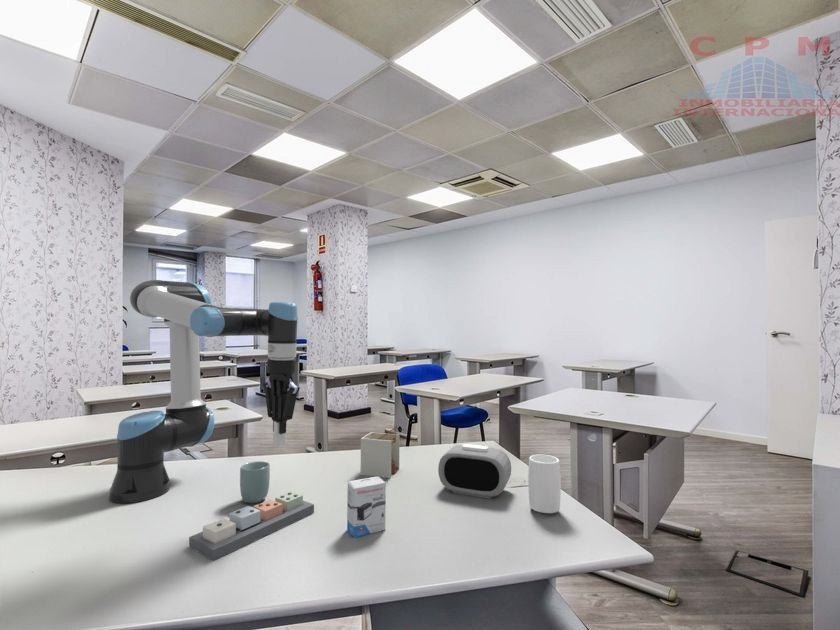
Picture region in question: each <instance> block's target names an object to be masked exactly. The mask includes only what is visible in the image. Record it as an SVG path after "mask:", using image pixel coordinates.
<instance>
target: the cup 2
mask: <svg viewBox="0 0 840 630" xmlns="http://www.w3.org/2000/svg"><path fill="white" fill-rule="evenodd" d="M560 465H561V464H560V459H559V458H557V457H556V456H554V455H549V454H542V453H541V454H539V453H538V454H532V455H530V456H529V459H528V476H527V478H528V480H527V481H528V501H529V508H531V509H532V510H533V511H535V512H537V513H544V514H553V513H554V514H555V513H558V512H559V511H560V508H561V494H562V493H561V491H562V489H561V488H562V487H561V485H562V484H561V482H562V481H561V480H562V478H561V467H560Z"/></svg>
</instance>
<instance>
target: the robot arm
mask: <svg viewBox="0 0 840 630" xmlns="http://www.w3.org/2000/svg"><path fill="white" fill-rule="evenodd" d="M129 296H130V297H129V301H130V302H129V303H130V305H131V307H132V309H133V310H134V311H135V312H137V313H138V314H140V315H142V316H145V317H147V318H161V319H163V323H164V325H166V326H167V327H168V328H169V359H170V360H169V365H170V372H169V373H170V402H169V403H168V404H167V405H166V406H165V412H164V411H162V410H150V411H143V412H139V413H135V414H131V415H129V416H126V417H124V418H123V419H122V420H121V421H120V422H119V424H118V430H117V434H116V438H117V453H116V454H117V455H116V456H117V462H116V463H117V464H116V465H117V466H116V468H117V469H116V473H115V476H114V479H113V480H112V484H111V487H110V489H109V492H108V493H109V495H108V498H109V501H110V502H113V503H116V504H129V503H130V504H131V503H137V502H138V503H139V502H143V501H148V500H151V499H155V498H157V497H160V496H162V495H164V494H166V493H167V492H168V491H170V489H171V480H170V477H169V474H168V472H167V469H166V467H165V463H164V461H165V459H164V458H165V453H168V452H171V451H175V450H180V449H182V448H187V447H188V448H189V447H194V446H196V445H198V444H202V443H205V442H206V441H207V440H208V439H210V437H211V436H212V434H213V431H214V428H215V416H214V414H213V411H212V409H210V407H207V403H206V401H204V400H203V399H202V398H201V395H202V393H201V355H200V349H201V348H200V337H207V338H213V337H230V336H231V337H232V336H233V337H236V336H237V337H238V336H242V337H243V336H246V337H247V336H265V337H267V358H268V359H267V361H266V372H267V373H268V374H269V377H268V380H266V381H264V382H263V383H262V386H263V390H264V394H265V404H266V411H267V417H268V418H271V420H272V432H273V435H272V436H273V440H272V446H274V447H280V446H283V445H285V444H286V433H287V421H290V420H292V419H293V417H294V411H295V405H296V401H297V396H298V393H299V391H300V389H301V388H300V385H296V384H295V383H294V376H293V375H294V374H295V373H296V370H297V368H296V365H297V361H296V359H295V358H296V357H297V347H298V346H297V335H298V334H297V333H298V319H299V317H298V306H297V304H296V303H294V302H283V301H281V302H280V301H279V302H278V301H272V302H270V303H269V304H268V308H267V309H264V308H242V307H241V308H240V307H239V308H238V307H237V308H236V307H232V308H231V307H221V306H217V305H213V304H212V299H211V296H210V293H209V291H208V289H206V287H205V286H203V285H202V284H199V283H194V282H189V281H188V282H186V281H184V282H183V281H173V280H162V279H151V280H146V281H143V282H141V283H139V284H137V285H136V286H135V287H133V289H132V291H131V292H130V295H129Z"/></svg>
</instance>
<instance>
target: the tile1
mask: <svg viewBox="0 0 840 630" xmlns="http://www.w3.org/2000/svg"><path fill="white" fill-rule="evenodd" d="M229 520H230V519H226V518H224V517H223V518H221V519H218V520H215V521H213V522H210V523H208V524H205V525H204V526H202V532H203V539H205V540H207V541H209V542H211V543H213V544H216V543H218V542H221V541H223V540H225V539H227V538H230V537H232V536H234V535H236V524H235V523H233V522H231V521H229Z"/></svg>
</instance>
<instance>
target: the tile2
mask: <svg viewBox="0 0 840 630" xmlns="http://www.w3.org/2000/svg"><path fill="white" fill-rule="evenodd" d="M260 517H261V511H260V510H258V509H255V508H254V506H253V507H252V506H250V505H247V506H243V507H242V508H239V509H237V510H235V511H231V512H229V519H228V520H229V521H231V522H233V523H235V524H236V528H238V529H240V530H239V531H243V530H246V529H249V528H251V527H250V526H252V525H255V524H257V523H259V522H260Z"/></svg>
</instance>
